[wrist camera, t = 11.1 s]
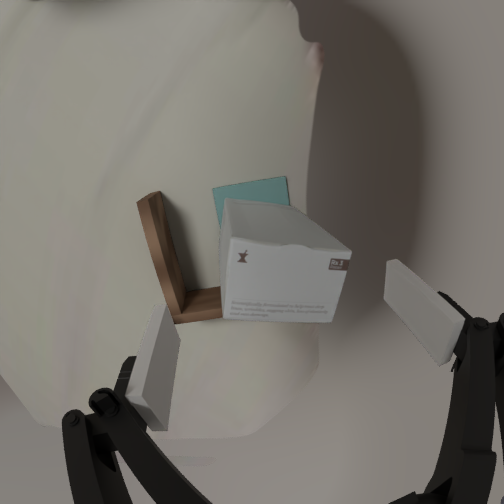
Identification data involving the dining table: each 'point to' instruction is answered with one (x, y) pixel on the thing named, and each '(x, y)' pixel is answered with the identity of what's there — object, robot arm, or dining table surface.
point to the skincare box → (278, 264)
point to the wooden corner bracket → (174, 268)
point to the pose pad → (252, 193)
